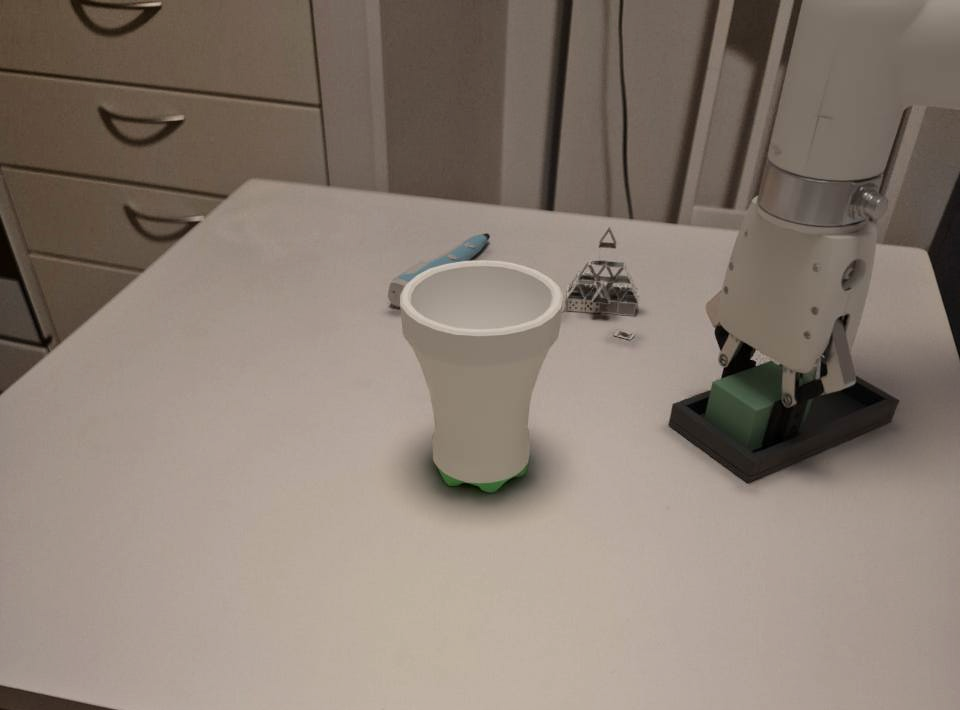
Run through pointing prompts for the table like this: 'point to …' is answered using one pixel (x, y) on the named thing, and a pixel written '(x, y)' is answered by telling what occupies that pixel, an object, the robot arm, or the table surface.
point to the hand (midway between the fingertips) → (753, 423)
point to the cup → (481, 361)
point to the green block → (747, 403)
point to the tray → (823, 429)
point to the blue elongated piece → (437, 264)
